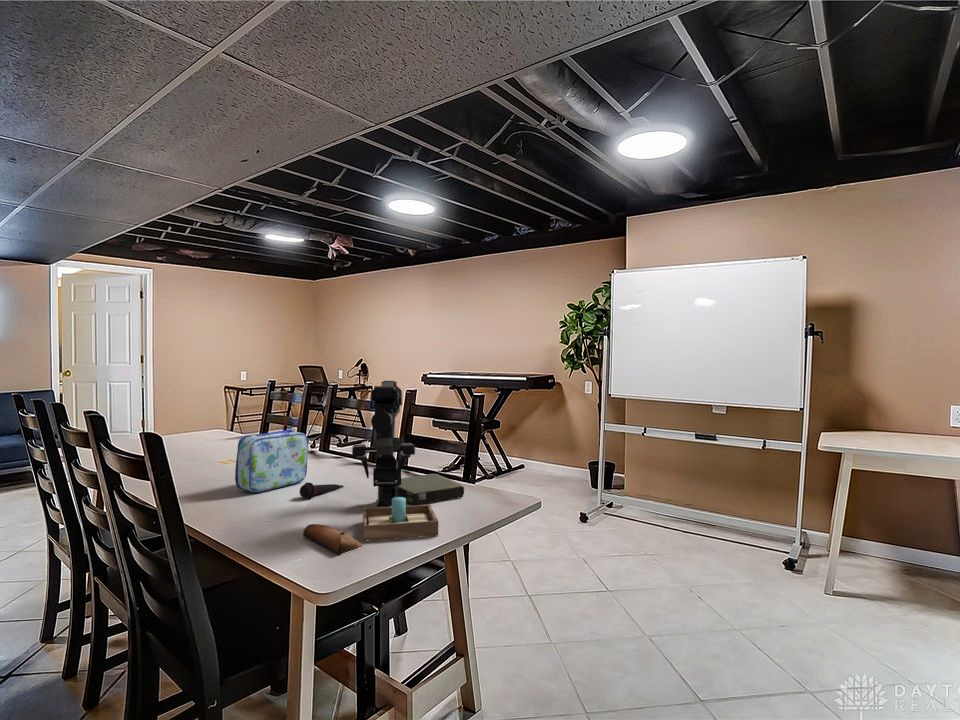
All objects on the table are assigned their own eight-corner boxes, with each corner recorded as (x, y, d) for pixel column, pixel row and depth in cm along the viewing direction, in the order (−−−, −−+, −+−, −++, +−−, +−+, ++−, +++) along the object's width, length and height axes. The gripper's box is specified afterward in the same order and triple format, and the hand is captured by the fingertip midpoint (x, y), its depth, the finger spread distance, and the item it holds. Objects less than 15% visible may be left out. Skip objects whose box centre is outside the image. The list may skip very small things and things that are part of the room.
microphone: (338, 495, 187) (297, 501, 169) (336, 480, 188) (295, 484, 171) (349, 492, 185) (308, 498, 167) (347, 477, 186) (306, 481, 168)
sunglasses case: (367, 546, 128) (356, 527, 125) (346, 567, 123) (334, 548, 121) (330, 529, 140) (319, 511, 137) (310, 548, 136) (298, 530, 133)
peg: (390, 524, 145) (391, 497, 145) (404, 523, 146) (405, 496, 146) (391, 529, 141) (392, 501, 141) (406, 528, 142) (406, 500, 142)
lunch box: (292, 478, 200) (293, 426, 200) (311, 481, 194) (311, 428, 194) (231, 492, 177) (232, 433, 177) (250, 496, 172) (251, 436, 172)
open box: (362, 522, 147) (363, 508, 147) (429, 517, 152) (429, 504, 152) (363, 541, 131) (364, 526, 131) (438, 535, 136) (438, 521, 136)
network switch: (379, 494, 178) (379, 480, 178) (431, 484, 194) (431, 471, 194) (416, 510, 161) (416, 494, 161) (470, 497, 177) (470, 483, 177)
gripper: (352, 431, 142) (351, 485, 142) (417, 429, 147) (416, 482, 147) (352, 426, 153) (352, 476, 153) (413, 425, 158) (412, 474, 158)
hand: (383, 477), depth 152 cm, fingers open, 9 cm apart
